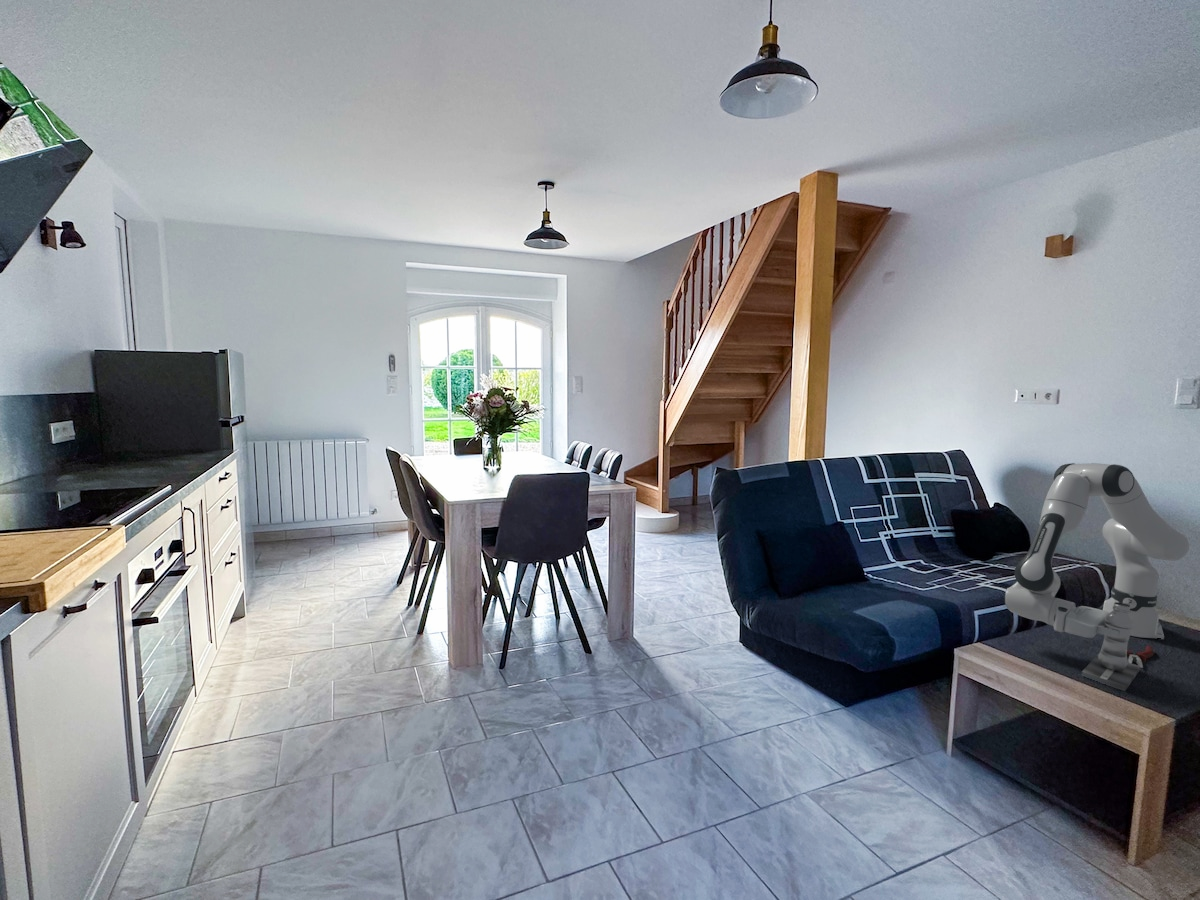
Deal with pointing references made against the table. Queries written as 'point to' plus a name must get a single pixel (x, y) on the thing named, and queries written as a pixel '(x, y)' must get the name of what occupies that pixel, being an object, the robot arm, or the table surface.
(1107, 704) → the table surface
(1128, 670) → the subfloor board
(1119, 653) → the plastic bottle
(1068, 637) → the table surface
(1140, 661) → the pliers
